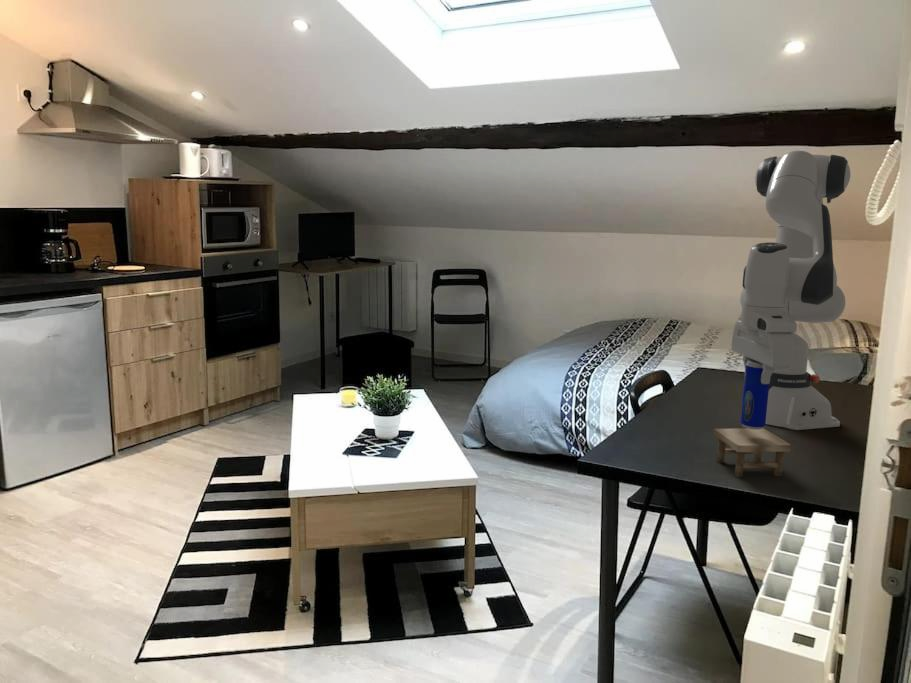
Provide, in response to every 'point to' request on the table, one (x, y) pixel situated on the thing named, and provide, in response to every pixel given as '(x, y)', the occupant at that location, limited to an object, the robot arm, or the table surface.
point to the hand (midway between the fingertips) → (756, 379)
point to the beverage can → (754, 397)
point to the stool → (751, 448)
